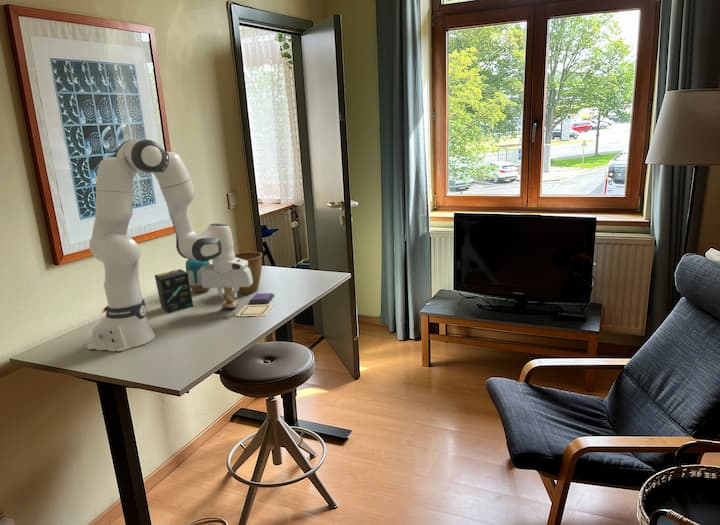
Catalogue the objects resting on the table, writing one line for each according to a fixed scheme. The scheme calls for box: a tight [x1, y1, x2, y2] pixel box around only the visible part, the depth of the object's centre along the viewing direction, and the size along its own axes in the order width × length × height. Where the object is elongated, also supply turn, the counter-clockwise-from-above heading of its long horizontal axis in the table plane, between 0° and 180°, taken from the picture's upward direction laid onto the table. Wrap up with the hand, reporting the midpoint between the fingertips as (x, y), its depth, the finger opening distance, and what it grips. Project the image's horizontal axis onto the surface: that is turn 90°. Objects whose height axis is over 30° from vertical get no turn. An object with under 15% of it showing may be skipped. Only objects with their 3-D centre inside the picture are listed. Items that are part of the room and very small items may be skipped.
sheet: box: [235, 303, 275, 318], centre depth 205 cm, size 12×12×1 cm
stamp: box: [221, 287, 240, 309], centre depth 208 cm, size 5×5×9 cm
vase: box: [185, 259, 211, 293], centre depth 233 cm, size 11×11×19 cm
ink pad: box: [249, 292, 275, 305], centre depth 216 cm, size 8×8×2 cm
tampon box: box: [154, 268, 194, 314], centre depth 215 cm, size 11×9×15 cm
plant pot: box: [235, 251, 263, 294], centre depth 228 cm, size 15×15×16 cm
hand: (229, 297), depth 208 cm, fingers closed on stamp, 3 cm apart
